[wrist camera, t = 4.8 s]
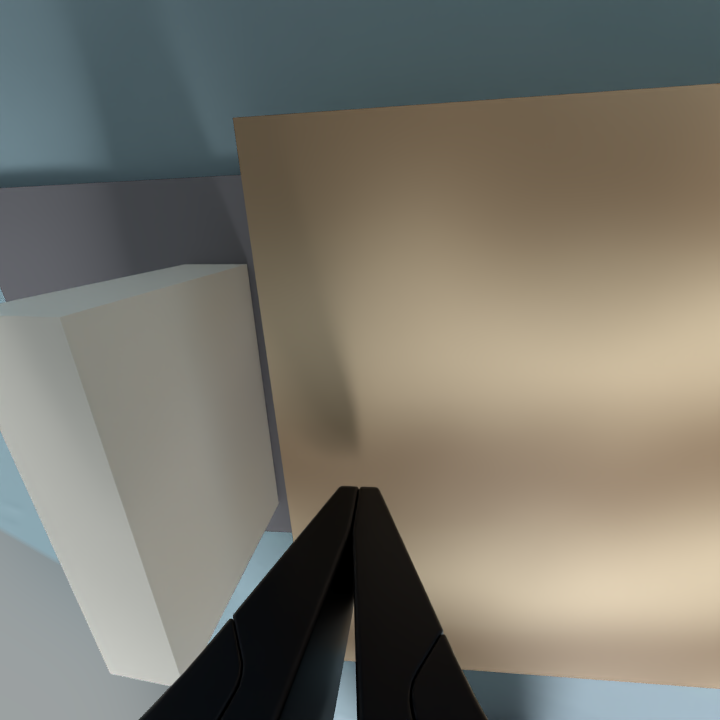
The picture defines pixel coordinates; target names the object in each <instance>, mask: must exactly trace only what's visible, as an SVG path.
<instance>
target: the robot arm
mask: <svg viewBox="0 0 720 720" xmlns="http://www.w3.org/2000/svg"><path fill="white" fill-rule="evenodd" d="M353 607H354V627H355V661H356V695H357V720H488V719H487V717H486V715H485V714H484V712H483V710H482V708H481V706H480V704H479V703H478V701H477V699H476V697H475V695H474V693H473V691H472V689H471V687H470V685H469V683H468V681H467V679H466V677H465V675H464V673H463V671H462V669H461V667H460V665H459V662H458V660H457V658H456V656H455V654H454V652H453V650H452V647H451V645H450V643H449V641H448V639H447V636H446V635H445V634H443V628H442V626H441V624H440V622H439V619H438V617H437V615H436V613H435V611H434V608H433V606H432V604H431V602H430V600H429V597H428V595H427V593H426V591H425V589H424V586H423V584H422V582H421V580H420V578H419V575H418V573H417V571H416V569H415V567H414V564H413V562H412V560H411V558H410V556H409V553H408V551H407V549H406V547H405V545H404V542H403V540H402V538H401V536H400V534H399V531H398V529H397V527H396V525H395V523H394V520H393V518H392V516H391V514H390V512H389V509H388V507H387V505H386V503H385V501H384V498H383V496H382V494H381V492H380V490H379V488H377V487H364V486H363V487H360V489H359V488H358V487H357V486H340V487H339V488H338V489H337V490H336V491H335V493H334V494H333V495H332V496H331V497H330V499H329V500H328V501H327V502H326V503H325V505H324V506H323V507H322V508H321V510H320V511H319V512H318V513H317V514H316V516H315V517H314V518H313V519H312V520H311V522H310V523H309V524H308V525H307V526H306V528H305V529H304V530H303V531H302V532H301V534H300V535H299V536H298V537H297V538H296V540H295V541H294V542H293V543H292V544H291V546H290V547H289V548H288V549H287V551H286V552H285V553H284V554H283V555H282V557H281V558H280V559H279V560H278V561H277V563H276V564H275V565H274V566H273V567H272V569H271V570H270V571H269V572H268V573H267V575H266V576H265V577H264V578H263V579H262V581H261V582H260V583H259V584H258V586H257V587H256V588H255V589H254V590H253V592H252V593H251V594H250V595H249V596H248V598H247V599H246V600H245V601H244V602H243V604H242V605H241V606H240V607H239V608H238V610H237V611H236V612H235V613H234V615H233V619H229V620H228V621H227V623H226V624H225V625H224V626H223V627H222V629H221V630H220V631H219V632H218V633H217V635H216V636H215V637H214V638H213V639H212V641H211V642H210V643H209V644H208V645H207V646H206V647H205V649H204V650H203V651H202V652H201V653H200V654H199V656H198V657H197V658H196V659H195V660H194V661H193V662H192V664H191V665H190V666H189V667H188V668H187V669H186V671H185V672H184V673H183V674H182V675H181V676H180V677H179V678H178V679H177V680H176V681H175V682H174V683H173V684H172V685H171V686H170V688H169V689H168V690H167V691H166V692H165V693H164V694H163V695H162V696H161V697H160V698H159V699H158V700H157V701H156V702H155V703H154V705H153V706H152V707H151V708H150V709H149V710H148V711H147V712H146V713H145V714H144V715H143V716H142V717H141V718H140V719H139V720H333V718H334V712H335V707H336V701H337V696H338V690H339V685H340V679H341V674H342V669H343V663H344V658H345V652H346V647H347V641H348V636H349V630H350V625H351V619H352V614H353ZM233 620H234V621H233Z"/></svg>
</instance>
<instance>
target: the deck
mask: <svg viewBox="0 0 720 720" xmlns="http://www.w3.org/2000/svg"><path fill="white" fill-rule="evenodd" d="M233 123H234V130H235V137H236V144H237V151H238V158H239V165H240V172H241V179H242V186H243V193H244V200H245V207H246V214H247V221H248V228H249V235H250V242H251V249H252V256H253V263H254V270H255V277H256V284H257V291H258V298H259V305H260V312H261V319H262V326H263V333H264V339H265V346H266V353H267V360H268V367H269V374H270V381H271V388H272V395H273V402H274V409H275V416H276V423H277V430H278V437H279V444H280V451H281V458H282V465H283V472H284V479H285V486H286V493H287V500H288V507H289V514H290V521H291V528H292V535H293V542H294V541H295V540H296V538H297V537H298V536H299V535H300V534H301V532H302V531H303V530H304V529H305V528H306V526H307V525H308V524H309V523H310V522H311V520H312V519H313V518H314V517H315V516H316V514H317V513H318V512H319V511H320V510H321V508H322V507H323V506H324V505H325V503H326V502H327V501H328V500H329V499H330V497H331V496H332V495H333V494H334V493H335V491H336V490H337V489H338V488H339V487H340V486H357V487H358V488H359V489H360V487H363V486H364V487H377V488H379V490H380V492H381V494H382V496H383V498H384V501H385V503H386V505H387V507H388V509H389V512H390V514H391V516H392V518H393V520H394V523H395V525H396V527H397V529H398V531H399V534H400V536H401V538H402V540H403V542H404V545H405V547H406V549H407V551H408V553H409V556H410V558H411V560H412V562H413V564H414V567H415V569H416V571H417V573H418V575H419V578H420V580H421V582H422V584H423V586H424V589H425V591H426V593H427V595H428V597H429V600H430V602H431V604H432V606H433V608H434V611H435V613H436V615H437V617H438V619H439V622H440V624H441V626H442V628H443V634H445V635H446V636H447V639H448V641H449V643H450V645H451V647H452V650H453V652H454V654H455V656H456V658H457V660H458V662H459V665H460V667H461V669H462V670H475V671H489V672H502V673H515V674H529V675H542V676H555V677H569V678H582V679H595V680H608V681H622V682H635V683H648V684H662V685H675V686H688V687H702V688H715V689H720V83H717V84H703V85H689V86H675V87H661V88H647V89H633V90H618V91H604V92H590V93H576V94H562V95H548V96H534V97H520V98H505V99H491V100H477V101H463V102H449V103H435V104H421V105H407V106H393V107H378V108H364V109H350V110H336V111H322V112H308V113H294V114H280V115H265V116H251V117H237V118H233ZM344 661H355V627H354V607H353V614H352V619H351V625H350V630H349V636H348V641H347V647H346V652H345V658H344ZM355 662H356V661H355Z"/></svg>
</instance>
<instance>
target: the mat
mask: <svg viewBox="0 0 720 720" xmlns="http://www.w3.org/2000/svg"><path fill="white" fill-rule="evenodd" d="M184 264H247V269H248V276H249V284H250V291H251V299H252V306H253V314H254V321H255V329H256V336H257V344H258V351H259V359H260V366H261V374H262V381H263V389H264V396H265V404H266V411H267V419H268V427H269V434H270V442H271V449H272V457H273V464H274V472H275V479H276V487H277V494H278V502H279V504H278V506H277V508H276V510H275V512H274V514H273V516H272V518H271V520H270V522H269V524H268V526H267V527H266V529H265V531H271V532H292V528H291V521H290V514H289V507H288V500H287V493H286V486H285V479H284V472H283V465H282V458H281V451H280V444H279V437H278V430H277V423H276V416H275V409H274V402H273V395H272V388H271V381H270V374H269V367H268V360H267V353H266V346H265V339H264V333H263V326H262V319H261V312H260V305H259V298H258V291H257V284H256V277H255V270H254V263H253V256H252V249H251V242H250V235H249V228H248V221H247V214H246V207H245V200H244V193H243V186H242V179H241V175H229V176H211V177H193V178H175V179H156V180H138V181H120V182H102V183H84V184H66V185H48V186H29V187H11V188H0V287H1V290H2V292H3V295H4V297H5V300H6V302H9V301H13V300H18V299H23V298H28V297H32V296H37V295H42V294H47V293H51V292H56V291H61V290H66V289H70V288H75V287H80V286H85V285H89V284H94V283H99V282H104V281H108V280H113V279H118V278H122V277H127V276H132V275H137V274H141V273H146V272H151V271H156V270H160V269H165V268H170V267H175V266H179V265H184Z"/></svg>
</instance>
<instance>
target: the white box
mask: <svg viewBox="0 0 720 720" xmlns="http://www.w3.org/2000/svg"><path fill="white" fill-rule="evenodd" d="M0 431H1V433H2V435H3V438H4V440H5V442H6V444H7V446H8V449H9V451H10V453H11V455H12V457H13V460H14V462H15V464H16V466H17V469H18V471H19V473H20V475H21V477H22V480H23V482H24V484H25V486H26V488H27V491H28V493H29V495H30V497H31V500H32V502H33V504H34V506H35V508H36V511H37V513H38V515H39V517H40V519H41V522H42V524H43V526H44V528H45V531H46V533H47V535H48V537H49V539H50V542H51V544H52V546H53V548H54V550H55V553H56V555H57V557H58V559H59V562H60V564H61V566H62V568H63V570H64V572H65V575H66V577H67V579H68V581H69V584H70V586H71V588H72V590H73V592H74V595H75V597H76V599H77V601H78V604H79V606H80V608H81V610H82V612H83V614H84V617H85V619H86V621H87V624H88V626H89V628H90V630H91V632H92V635H93V637H94V638H95V641H96V643H97V646H98V648H99V650H100V652H101V654H102V656H103V659H104V661H105V663H106V666H107V668H108V670H109V672H110V674H114V675H119V676H123V677H128V678H133V679H138V680H143V681H148V682H153V683H158V684H163V685H167V686H171V685H172V684H173V683H174V682H175V681H176V680H177V679H178V678H179V677H180V676H181V675H182V674H183V673H184V672H185V671H186V669H187V668H188V667H189V666H190V665H191V664H192V662H193V661H194V660H195V659H196V658H197V657H198V656H199V654H200V653H201V652H202V651H203V650H204V649H205V647H206V646H207V644H208V642H209V640H210V638H211V636H212V634H213V632H214V630H215V628H216V626H217V624H218V622H219V620H220V618H221V616H222V614H223V612H224V610H225V608H226V606H227V604H228V603H229V601H230V599H231V597H232V595H233V593H234V591H235V589H236V587H237V585H238V583H239V581H240V579H241V577H242V575H243V573H244V571H245V569H246V567H247V565H248V563H249V561H250V559H251V557H252V555H253V553H254V551H255V549H256V547H257V545H258V543H259V541H260V539H261V537H262V535H263V533H264V531H265V529H266V527H267V526H268V524H269V522H270V520H271V518H272V516H273V514H274V512H275V510H276V508H277V506H278V504H279V502H278V494H277V487H276V479H275V472H274V464H273V457H272V449H271V442H270V434H269V427H268V419H267V411H266V404H265V396H264V389H263V381H262V374H261V366H260V359H259V351H258V344H257V336H256V329H255V321H254V314H253V306H252V299H251V291H250V284H249V276H248V269H247V264H184V265H179V266H175V267H170V268H165V269H160V270H156V271H151V272H146V273H141V274H137V275H132V276H127V277H122V278H118V279H113V280H108V281H104V282H99V283H94V284H89V285H85V286H80V287H75V288H70V289H66V290H61V291H56V292H51V293H47V294H42V295H37V296H32V297H28V298H23V299H18V300H13V301H9V302H4V303H0Z"/></svg>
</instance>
